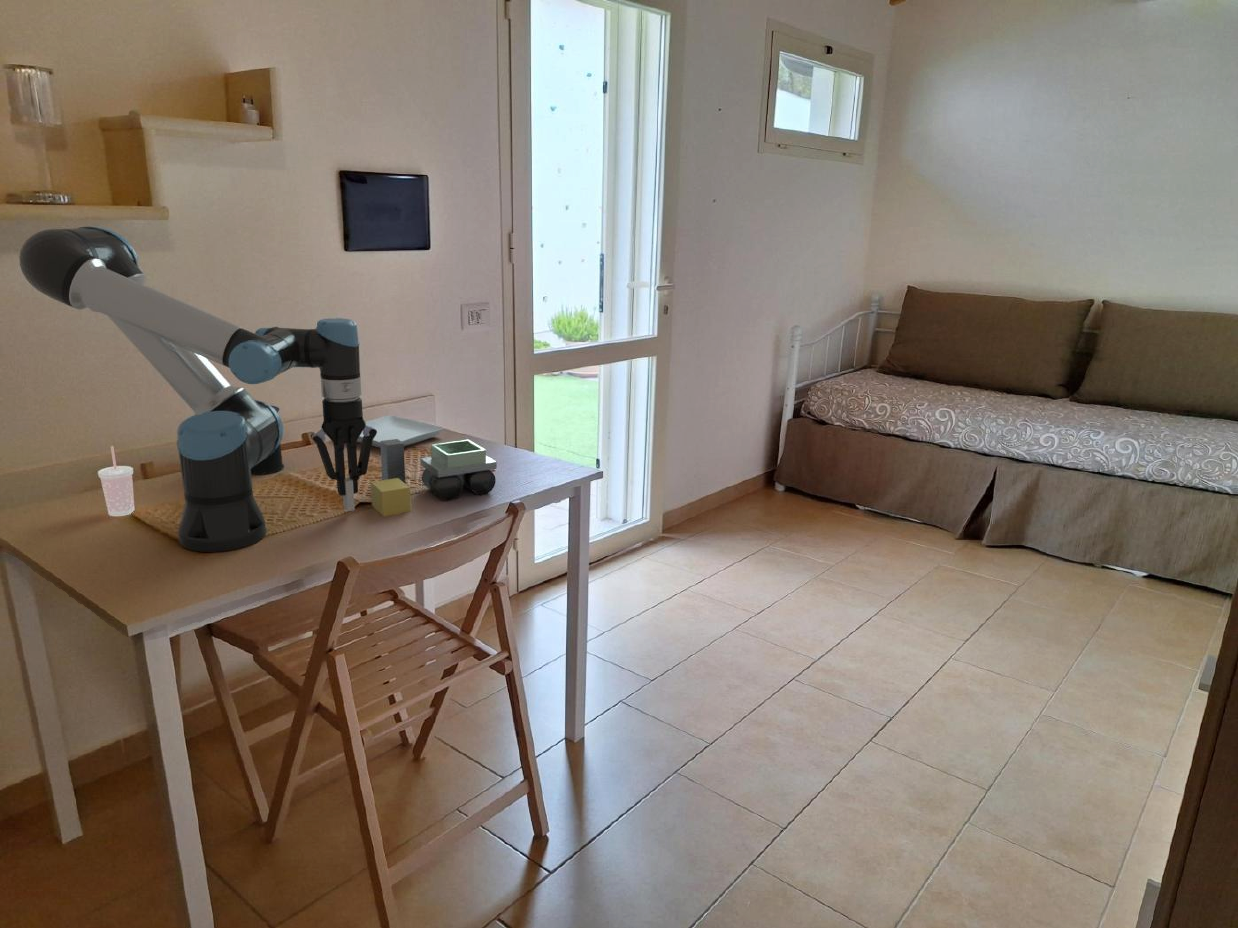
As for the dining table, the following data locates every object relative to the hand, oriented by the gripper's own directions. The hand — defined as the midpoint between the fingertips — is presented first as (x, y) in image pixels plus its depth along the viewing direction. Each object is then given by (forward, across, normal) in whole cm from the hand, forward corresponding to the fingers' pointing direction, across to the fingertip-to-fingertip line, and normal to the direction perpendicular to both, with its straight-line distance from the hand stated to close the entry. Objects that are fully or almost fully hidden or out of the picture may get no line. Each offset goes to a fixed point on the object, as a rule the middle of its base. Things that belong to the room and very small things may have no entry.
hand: (349, 508), depth 171 cm
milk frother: (+2, -12, +40) cm, 42 cm away
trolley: (+2, +26, +3) cm, 26 cm away
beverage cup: (+2, -39, +23) cm, 45 cm away
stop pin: (+2, +14, +12) cm, 18 cm away
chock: (+2, +9, 0) cm, 9 cm away
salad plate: (+2, +27, +51) cm, 58 cm away
